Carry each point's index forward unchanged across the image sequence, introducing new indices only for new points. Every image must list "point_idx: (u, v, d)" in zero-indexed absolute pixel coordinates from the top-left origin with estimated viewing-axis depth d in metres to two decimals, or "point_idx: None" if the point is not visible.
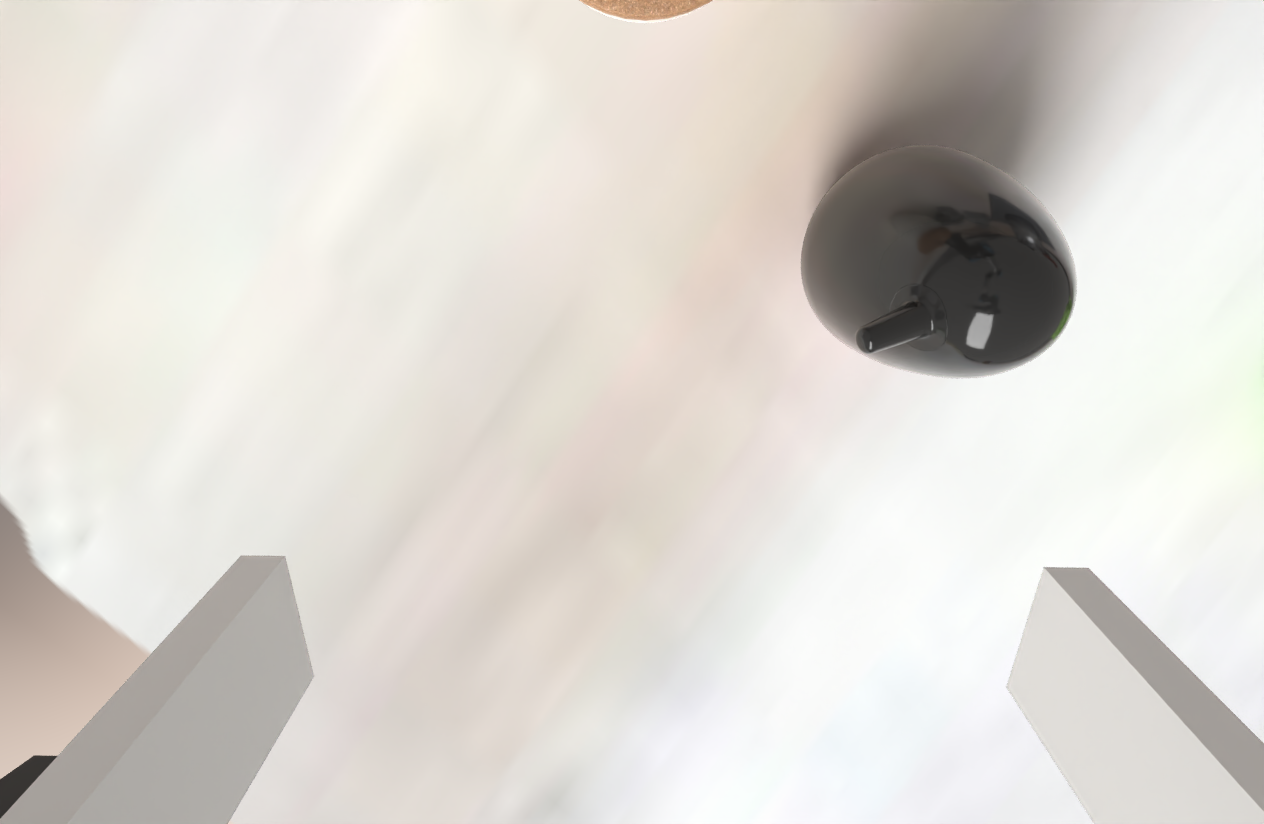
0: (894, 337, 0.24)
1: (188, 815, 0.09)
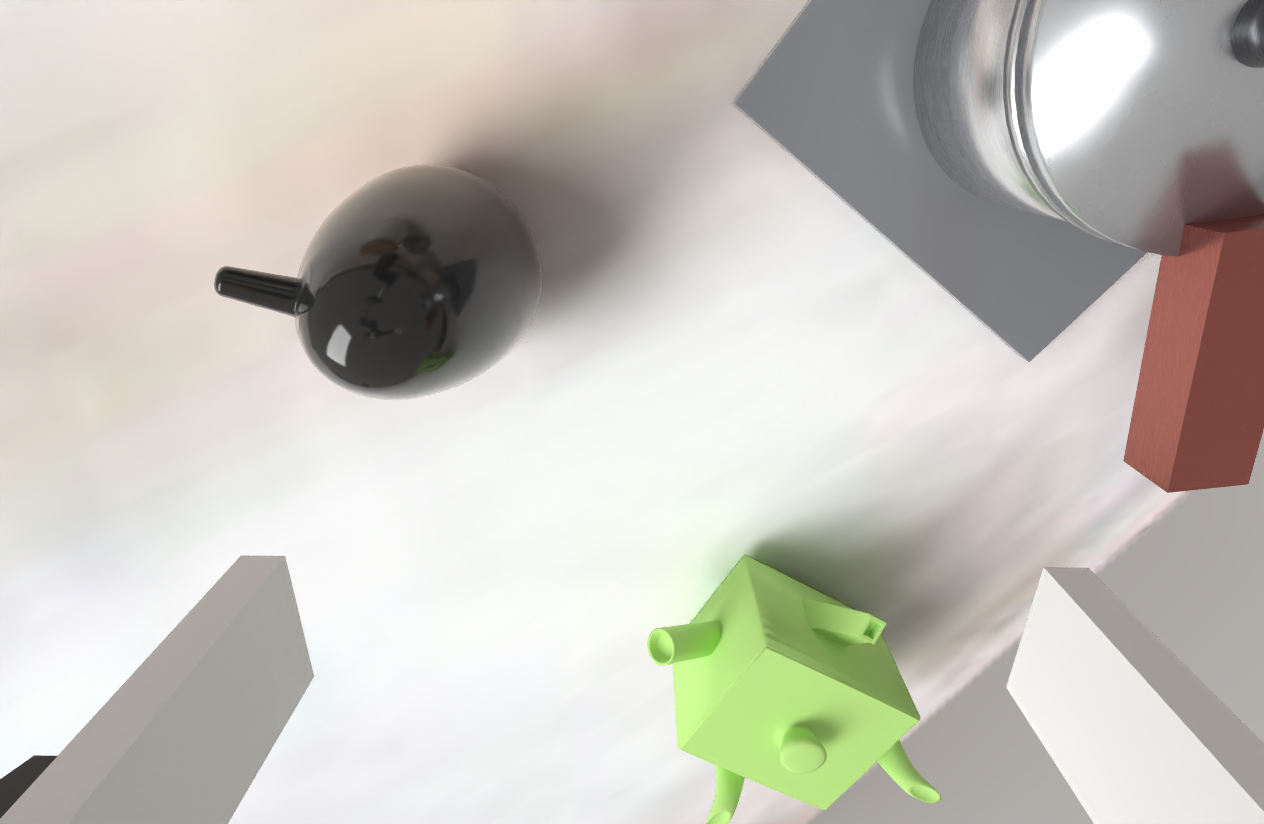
0: (247, 294, 0.23)
1: (188, 815, 0.09)
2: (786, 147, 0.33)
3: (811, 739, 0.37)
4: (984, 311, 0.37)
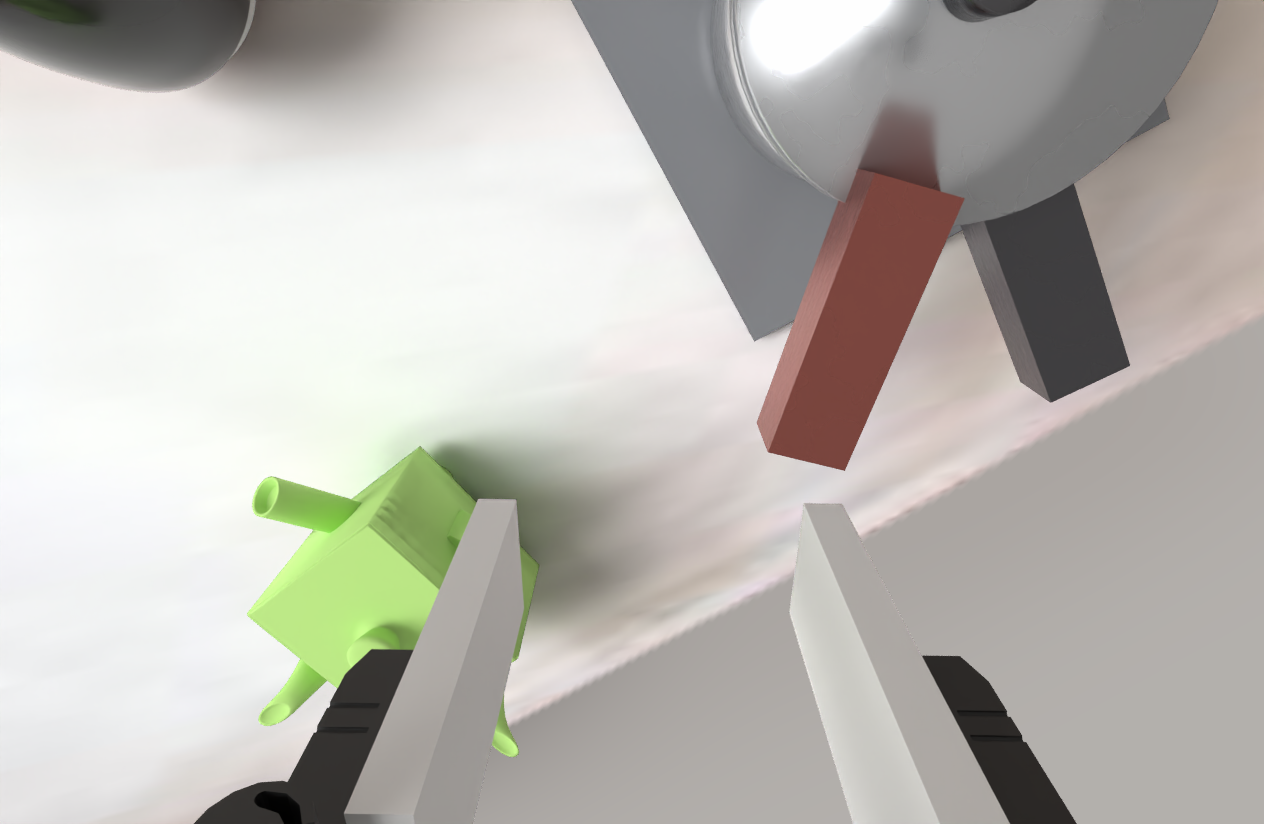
0: None
1: (487, 703, 0.11)
2: (572, 0, 0.30)
3: (386, 641, 0.33)
4: (725, 269, 0.35)
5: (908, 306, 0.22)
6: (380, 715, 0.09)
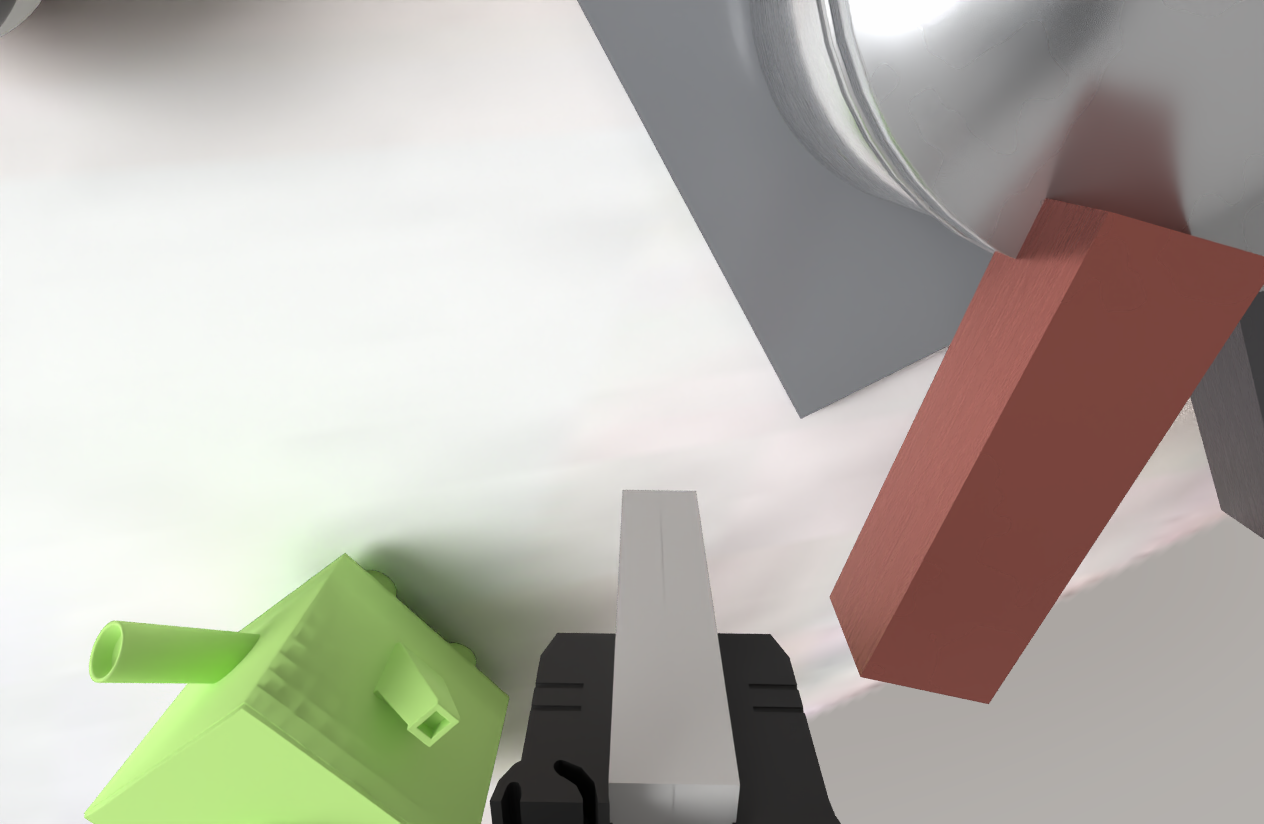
0: None
1: None
2: None
3: None
4: (763, 323, 0.25)
5: (1137, 452, 0.12)
6: (587, 694, 0.10)
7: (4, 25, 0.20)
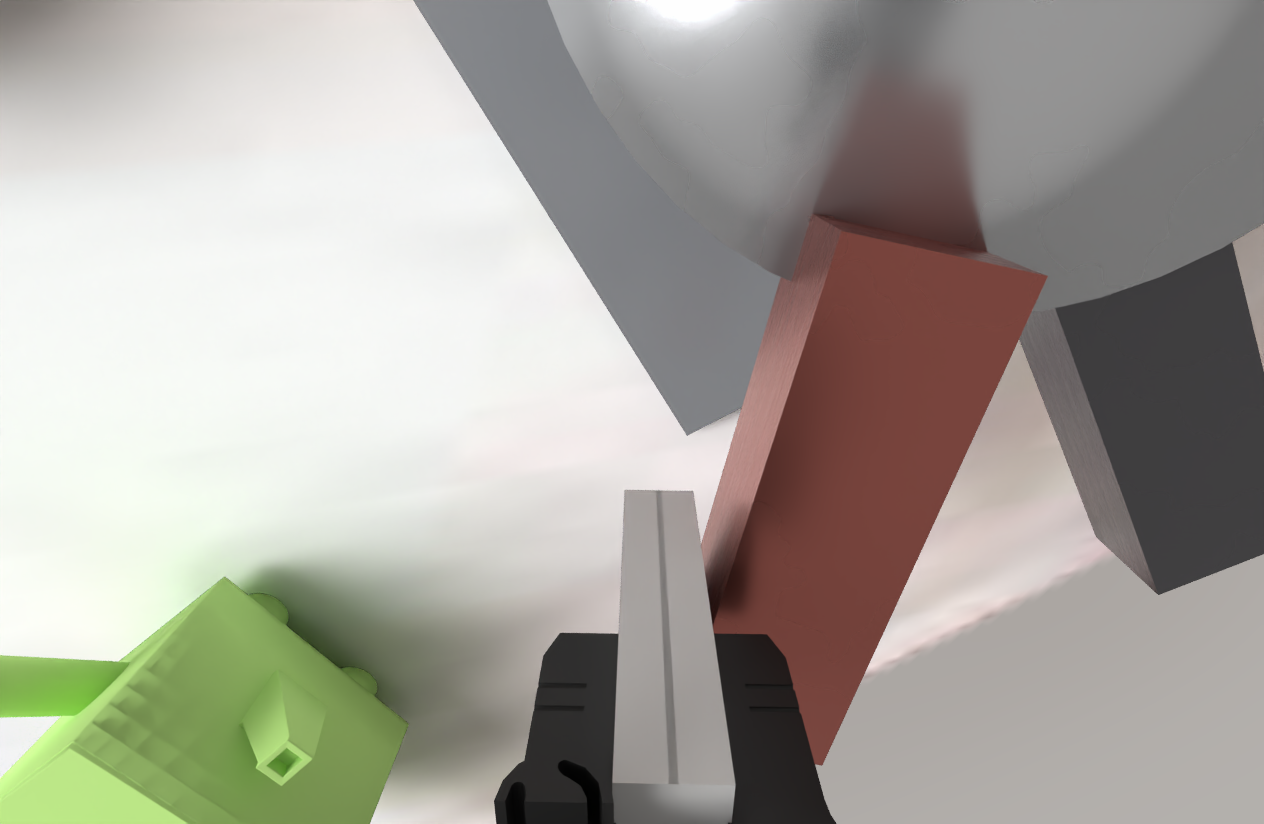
0: None
1: None
2: None
3: None
4: (638, 335, 0.24)
5: (929, 492, 0.11)
6: (590, 694, 0.10)
7: None
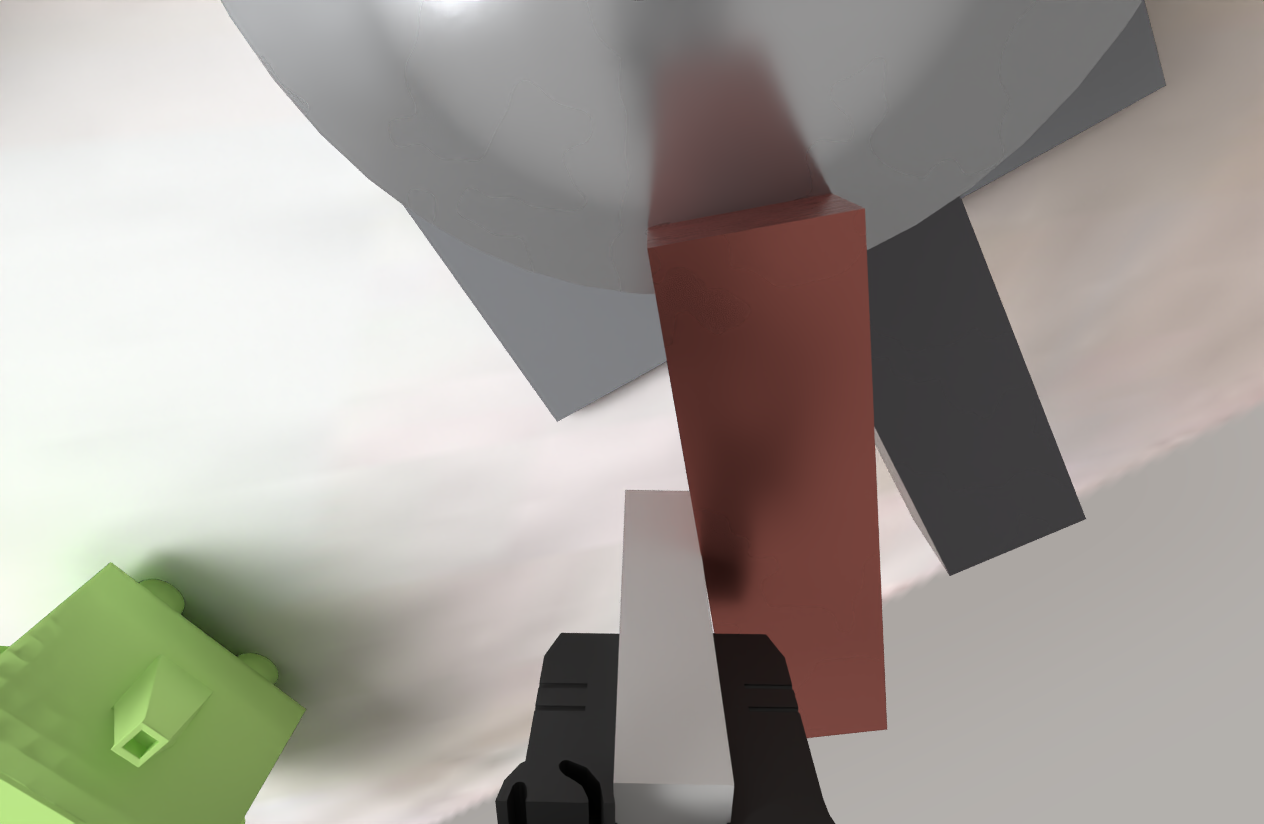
0: None
1: None
2: None
3: None
4: (500, 321, 0.24)
5: (857, 446, 0.11)
6: (591, 694, 0.10)
7: None
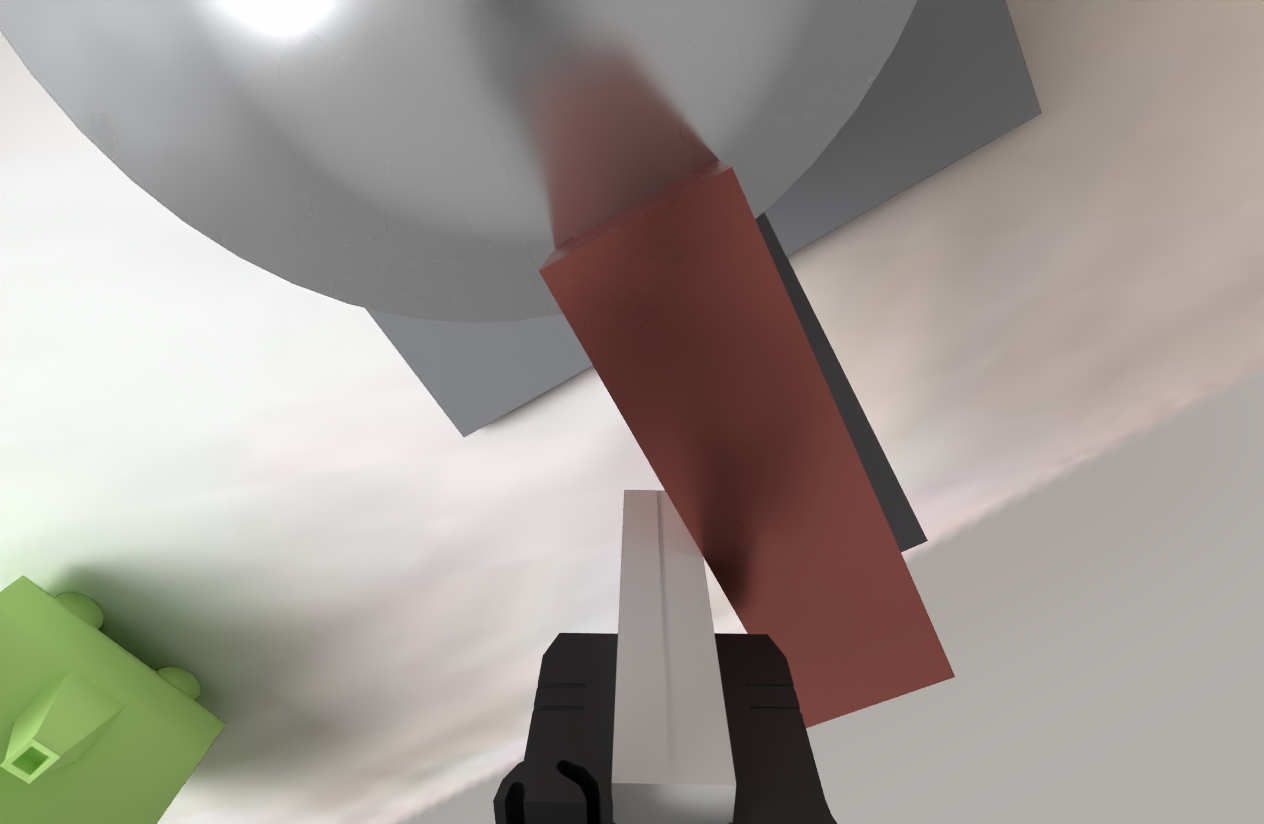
0: None
1: None
2: None
3: None
4: (402, 338, 0.24)
5: (813, 400, 0.10)
6: (590, 694, 0.10)
7: None
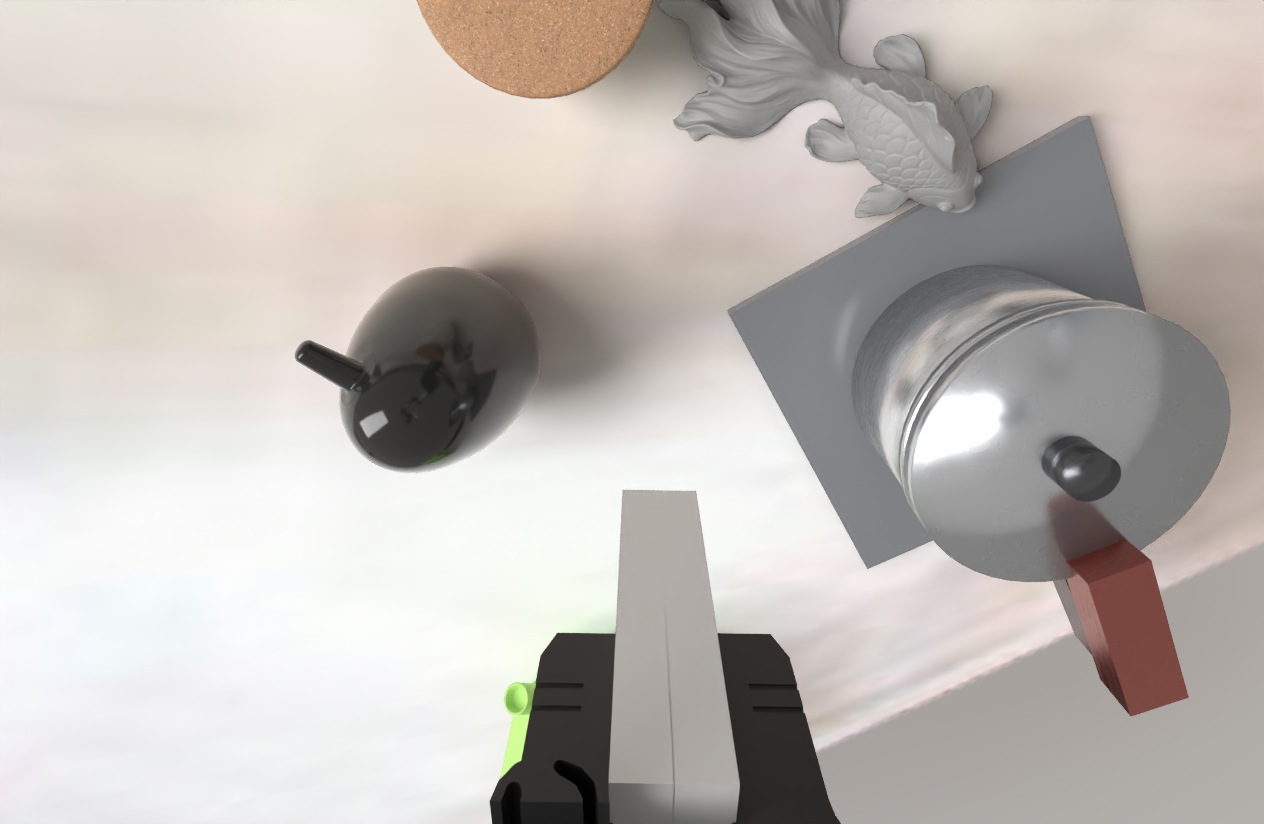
0: (319, 368, 0.29)
1: None
2: (754, 359, 0.42)
3: None
4: (849, 523, 0.47)
5: (1159, 615, 0.34)
6: (587, 694, 0.10)
7: None
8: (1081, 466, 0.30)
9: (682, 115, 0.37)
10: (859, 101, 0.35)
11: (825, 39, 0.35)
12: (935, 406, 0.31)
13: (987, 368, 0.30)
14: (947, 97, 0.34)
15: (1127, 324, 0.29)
